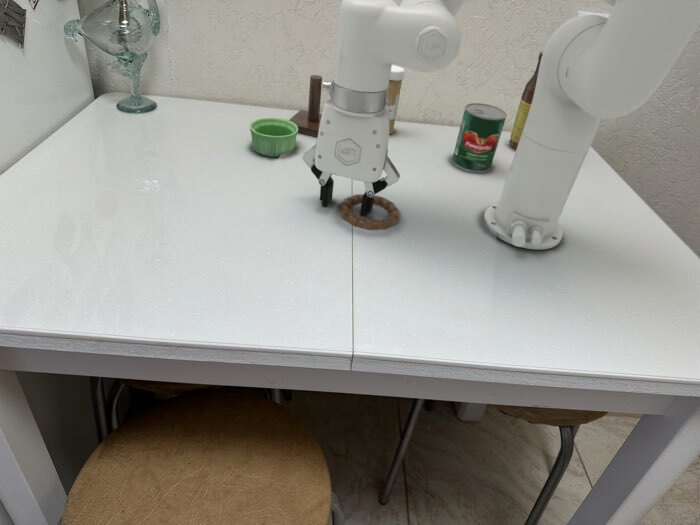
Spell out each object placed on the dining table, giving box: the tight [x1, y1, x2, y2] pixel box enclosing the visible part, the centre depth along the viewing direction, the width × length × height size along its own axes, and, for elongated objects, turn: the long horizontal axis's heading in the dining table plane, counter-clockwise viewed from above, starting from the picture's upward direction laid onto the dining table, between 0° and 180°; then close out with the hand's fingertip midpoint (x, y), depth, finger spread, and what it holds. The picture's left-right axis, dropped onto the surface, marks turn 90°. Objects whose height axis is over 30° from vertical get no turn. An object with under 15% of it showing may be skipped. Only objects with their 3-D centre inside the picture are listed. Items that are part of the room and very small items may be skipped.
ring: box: [337, 193, 401, 231], centre depth 77 cm, size 10×10×2 cm
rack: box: [288, 74, 323, 138], centre depth 101 cm, size 9×9×10 cm
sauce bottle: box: [509, 50, 544, 150], centre depth 103 cm, size 6×6×20 cm
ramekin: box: [249, 117, 299, 158], centre depth 93 cm, size 9×9×4 cm
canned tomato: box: [451, 102, 508, 174], centre depth 95 cm, size 8×8×11 cm
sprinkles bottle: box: [385, 64, 405, 135], centre depth 103 cm, size 5×5×14 cm
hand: (345, 208), depth 78 cm, fingers open, 5 cm apart
